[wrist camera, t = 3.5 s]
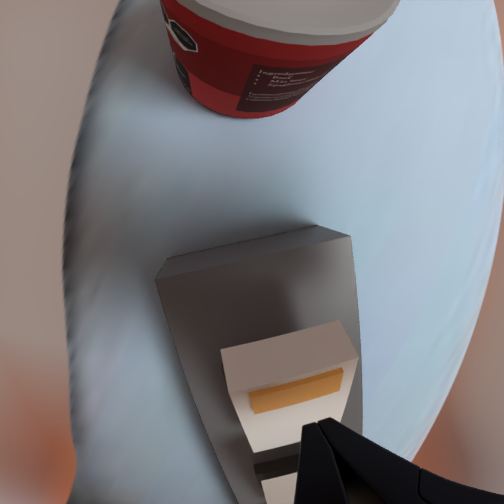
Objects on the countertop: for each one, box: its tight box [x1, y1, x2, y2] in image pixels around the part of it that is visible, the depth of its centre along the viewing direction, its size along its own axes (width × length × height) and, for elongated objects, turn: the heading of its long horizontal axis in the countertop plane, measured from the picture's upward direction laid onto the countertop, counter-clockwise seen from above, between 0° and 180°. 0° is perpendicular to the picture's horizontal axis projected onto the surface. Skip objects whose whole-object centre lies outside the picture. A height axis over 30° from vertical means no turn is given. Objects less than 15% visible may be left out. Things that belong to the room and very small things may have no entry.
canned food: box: [160, 0, 400, 119], centre depth 11 cm, size 8×8×11 cm
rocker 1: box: [220, 319, 359, 453], centre depth 12 cm, size 7×4×2 cm, turn 11°
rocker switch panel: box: [155, 226, 363, 504], centre depth 19 cm, size 30×9×5 cm, turn 11°
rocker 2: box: [261, 472, 297, 504], centre depth 14 cm, size 7×4×2 cm, turn 11°
